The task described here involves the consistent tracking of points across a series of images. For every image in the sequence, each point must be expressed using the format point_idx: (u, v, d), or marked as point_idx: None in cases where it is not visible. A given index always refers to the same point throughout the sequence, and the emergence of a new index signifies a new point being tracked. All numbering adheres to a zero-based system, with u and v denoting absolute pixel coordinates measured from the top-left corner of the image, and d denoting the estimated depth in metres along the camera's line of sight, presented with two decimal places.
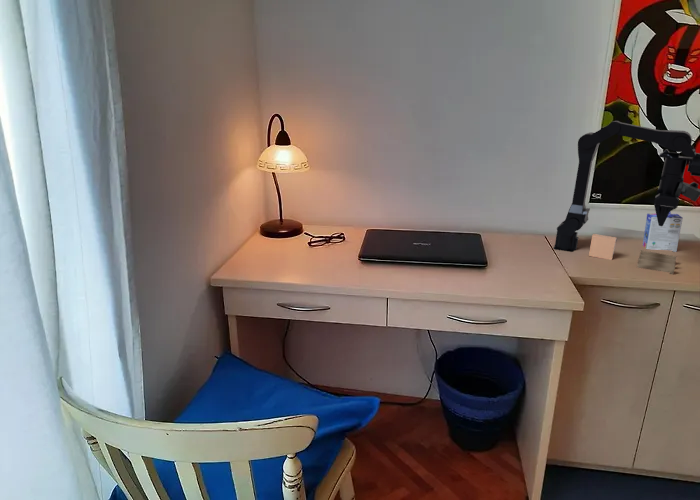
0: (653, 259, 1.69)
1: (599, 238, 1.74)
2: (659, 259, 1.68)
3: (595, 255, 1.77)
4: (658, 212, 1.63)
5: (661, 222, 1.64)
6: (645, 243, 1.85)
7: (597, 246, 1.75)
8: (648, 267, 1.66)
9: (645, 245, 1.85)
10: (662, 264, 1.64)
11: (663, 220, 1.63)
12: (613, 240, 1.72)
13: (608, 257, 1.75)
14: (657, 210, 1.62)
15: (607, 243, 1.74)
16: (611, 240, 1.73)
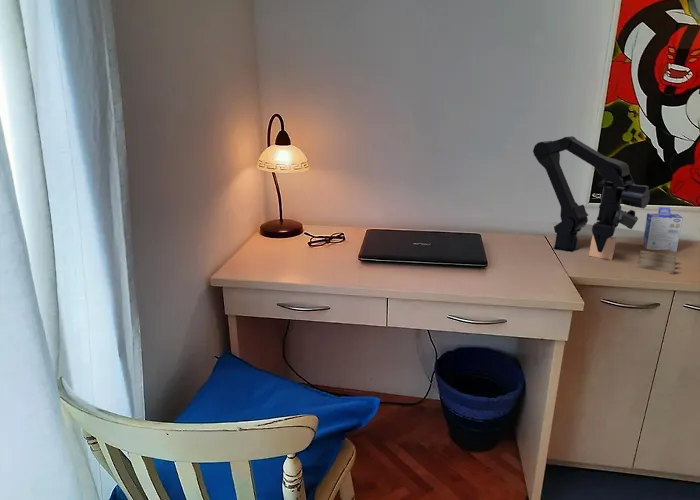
0: (653, 259, 1.69)
1: None
2: (659, 259, 1.68)
3: (595, 255, 1.77)
4: (597, 239, 1.70)
5: (600, 248, 1.72)
6: (645, 243, 1.85)
7: None
8: (648, 267, 1.66)
9: (645, 245, 1.85)
10: (662, 264, 1.64)
11: (602, 246, 1.71)
12: (613, 240, 1.72)
13: (608, 257, 1.75)
14: (596, 237, 1.70)
15: (607, 243, 1.74)
16: (611, 240, 1.73)
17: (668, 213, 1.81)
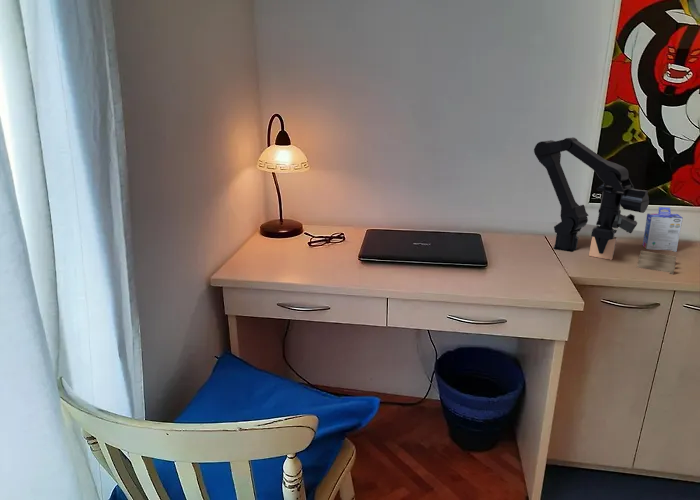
0: (653, 259, 1.69)
1: None
2: (659, 259, 1.68)
3: (595, 255, 1.77)
4: (598, 241, 1.73)
5: (601, 250, 1.75)
6: (645, 243, 1.85)
7: None
8: (648, 267, 1.66)
9: (645, 245, 1.85)
10: (662, 264, 1.64)
11: (603, 248, 1.74)
12: (613, 240, 1.72)
13: (608, 257, 1.75)
14: (597, 239, 1.73)
15: (607, 243, 1.74)
16: (611, 240, 1.73)
17: (668, 213, 1.81)
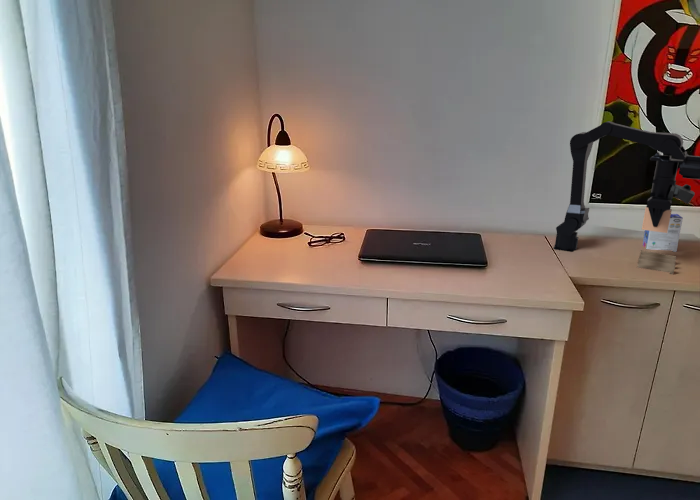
0: (653, 259, 1.69)
1: None
2: (659, 259, 1.68)
3: (649, 228, 1.68)
4: (652, 213, 1.65)
5: (655, 223, 1.66)
6: (645, 243, 1.85)
7: None
8: (648, 267, 1.66)
9: (645, 245, 1.85)
10: (662, 264, 1.64)
11: (657, 221, 1.65)
12: (669, 212, 1.64)
13: (663, 230, 1.66)
14: (651, 211, 1.65)
15: (662, 215, 1.65)
16: (666, 212, 1.64)
17: None
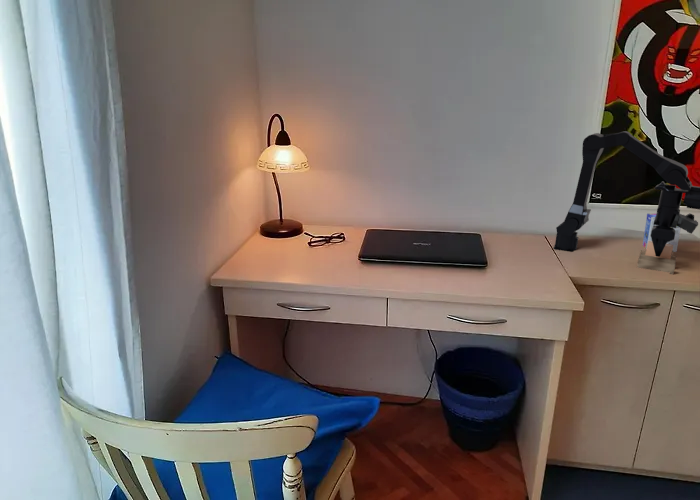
0: (653, 259, 1.69)
1: None
2: (659, 259, 1.68)
3: None
4: (655, 243, 1.65)
5: (658, 253, 1.66)
6: (645, 243, 1.85)
7: (653, 253, 1.70)
8: (648, 267, 1.66)
9: (645, 245, 1.85)
10: (662, 264, 1.64)
11: (660, 251, 1.65)
12: (670, 247, 1.67)
13: None
14: (654, 241, 1.65)
15: (664, 250, 1.68)
16: (668, 247, 1.67)
17: None
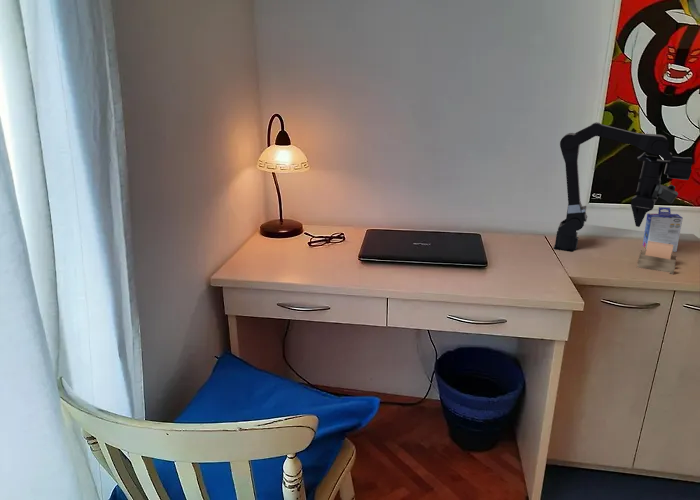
0: (653, 259, 1.69)
1: (655, 245, 1.69)
2: (659, 259, 1.68)
3: None
4: (635, 213, 1.68)
5: (638, 223, 1.69)
6: (645, 243, 1.85)
7: (653, 253, 1.70)
8: (648, 267, 1.66)
9: (645, 245, 1.85)
10: (662, 264, 1.64)
11: (640, 221, 1.69)
12: (670, 247, 1.67)
13: None
14: (634, 211, 1.68)
15: (664, 250, 1.68)
16: (668, 247, 1.67)
17: (668, 213, 1.82)
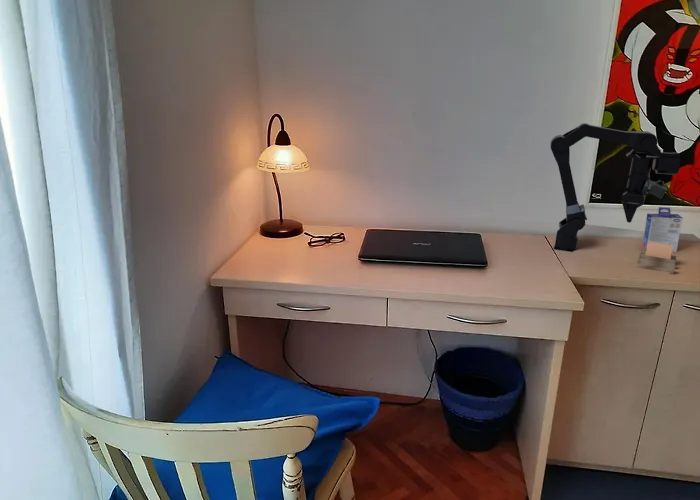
0: (653, 259, 1.69)
1: (655, 245, 1.69)
2: (659, 259, 1.68)
3: None
4: (626, 209, 1.71)
5: (629, 219, 1.72)
6: (645, 243, 1.85)
7: (653, 253, 1.70)
8: (648, 267, 1.66)
9: (645, 245, 1.85)
10: (662, 264, 1.64)
11: (631, 217, 1.71)
12: (670, 247, 1.67)
13: None
14: (625, 207, 1.71)
15: (664, 250, 1.68)
16: (668, 247, 1.67)
17: (668, 213, 1.81)
